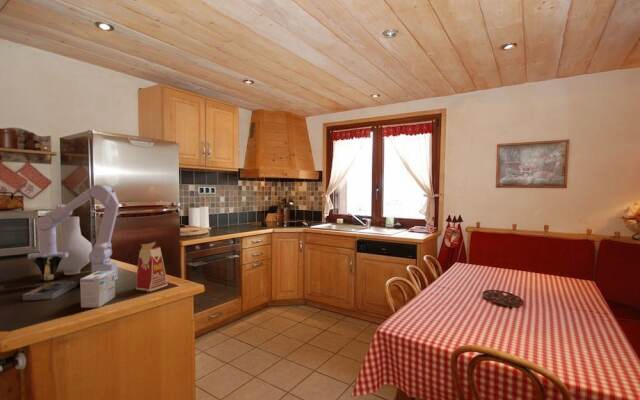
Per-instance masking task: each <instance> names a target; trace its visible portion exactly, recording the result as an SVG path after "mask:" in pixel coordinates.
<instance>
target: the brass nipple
mask: <svg viewBox="0 0 640 400" xmlns="http://www.w3.org/2000/svg"><path fill="white" fill-rule="evenodd" d="M43 278H44V279H43V281H52V280H54V279H55V274H51V265H50V262H47V263H45V264H44V275H43Z"/></svg>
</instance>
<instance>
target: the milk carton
mask: <svg viewBox="0 0 640 400" xmlns="http://www.w3.org/2000/svg"><path fill="white" fill-rule="evenodd" d="M162 254H163V253H162V249H161V246H159V245H156V241H153V242H150V243H146V244H145V243H143V244H141V249H140V250H139V255H138V261H137V270H136V271H137V272H136V285H135V286H136V287H135V289H136V290H139V291H145V290H146V292H149V291H150V292H152V291H155V290H156V291H157V290H158V289H161V288H164V287H166V286H168V279H167V274H166V269H165V263H164V259H163V255H162Z"/></svg>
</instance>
